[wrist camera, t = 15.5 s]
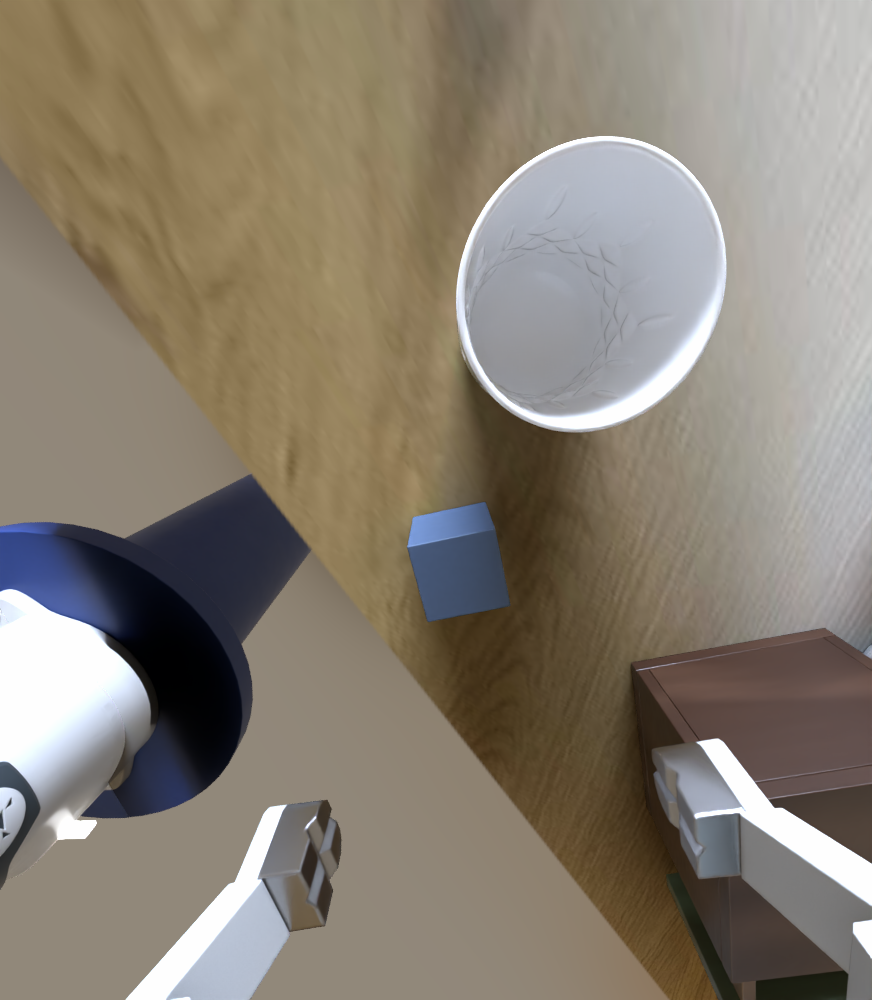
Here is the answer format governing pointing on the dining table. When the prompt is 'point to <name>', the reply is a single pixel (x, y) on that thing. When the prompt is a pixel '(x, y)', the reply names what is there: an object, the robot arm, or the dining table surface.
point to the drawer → (787, 996)
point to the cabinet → (766, 769)
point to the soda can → (868, 651)
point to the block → (457, 562)
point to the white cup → (590, 284)
